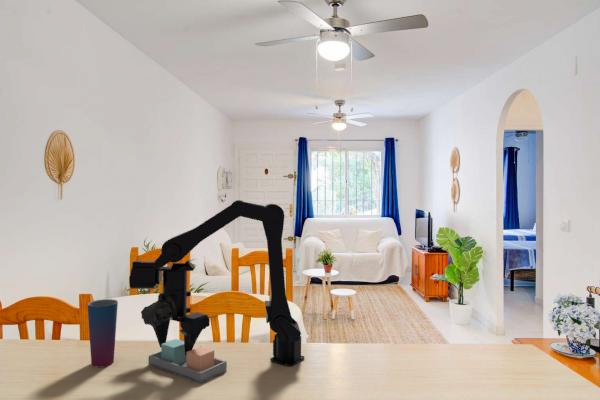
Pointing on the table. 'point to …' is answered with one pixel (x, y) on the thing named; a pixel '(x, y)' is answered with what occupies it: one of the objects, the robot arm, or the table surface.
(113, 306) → the cup
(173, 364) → the tray
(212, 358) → the terracotta block
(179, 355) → the teal block
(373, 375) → the table surface
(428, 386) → the table surface
